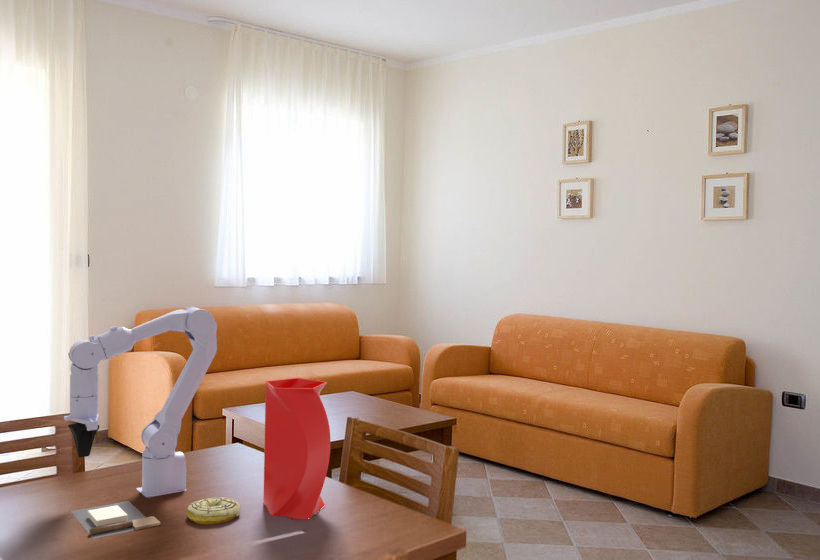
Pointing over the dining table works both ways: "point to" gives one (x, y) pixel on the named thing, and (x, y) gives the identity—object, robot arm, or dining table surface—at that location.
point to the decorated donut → (213, 510)
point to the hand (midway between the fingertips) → (83, 456)
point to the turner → (127, 525)
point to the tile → (107, 516)
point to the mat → (125, 506)
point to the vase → (295, 447)
